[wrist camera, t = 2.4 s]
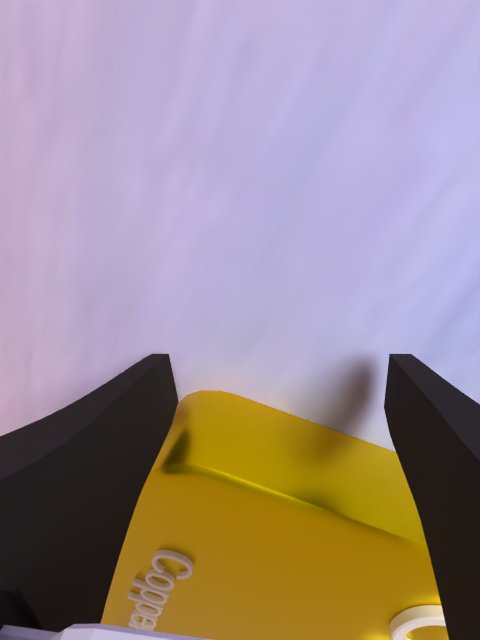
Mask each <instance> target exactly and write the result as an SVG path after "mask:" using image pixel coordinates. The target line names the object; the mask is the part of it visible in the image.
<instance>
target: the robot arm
mask: <svg viewBox="0 0 480 640" xmlns="http://www.w3.org/2000/svg"><path fill="white" fill-rule="evenodd" d="M177 405H178V398H177V393H176V388H175V383H174V378H173V373H172V368H171V363H170V358H169V354H151V355H149V356H147V357H146V358H144V359H142V360H141V361H139V362H137V363H136V364H134V365H133V366H131V367H130V368H128V369H127V370H125V371H124V372H122V373H121V374H119V375H118V376H116V377H115V378H113V379H112V380H110V381H109V382H107V383H106V384H104V385H102V386H101V387H99V388H97V389H96V390H94V391H92V392H91V393H89V394H87V395H86V396H84V397H83V398H81V399H79V400H77V401H76V402H74V403H72V404H70V405H68V406H67V407H65V408H63V409H61V410H59V411H57V412H55V413H53V414H51V415H49V416H47V417H45V418H43V419H40V420H38V421H36V422H33V423H31V424H29V425H26V426H24V427H22V428H20V429H17V430H15V431H13V432H10V433H8V434H5V435H3V436H0V640H212V639H205V638H198V637H191V636H184V635H177V634H170V633H163V632H156V631H149V630H142V629H135V628H128V627H120V626H113V625H106V624H100V623H101V619H102V616H103V612H104V608H105V604H106V600H107V597H108V593H109V590H110V586H111V583H112V580H113V576H114V573H115V569H116V566H117V562H118V559H119V556H120V553H121V550H122V546H123V543H124V540H125V537H126V534H127V531H128V528H129V525H130V522H131V519H132V516H133V513H134V510H135V507H136V504H137V502H138V499H139V496H140V494H141V491H142V489H143V487H144V484H145V482H146V480H147V478H148V476H149V474H150V471H151V469H152V467H153V465H154V463H155V461H156V459H157V456H158V454H159V452H160V450H161V448H162V446H163V443H164V441H165V439H166V437H167V435H168V432H169V430H170V428H171V425H172V422H173V419H174V416H175V412H176V408H177ZM384 409H385V414H386V418H387V423H388V428H389V432H390V436H391V439H392V442H393V444H394V447H395V450H396V453H397V456H398V458H399V461H400V464H401V466H402V469H403V472H404V474H405V477H406V480H407V483H408V485H409V488H410V491H411V493H412V496H413V499H414V502H415V504H416V508H417V511H418V514H419V517H420V520H421V524H422V528H423V532H424V536H425V540H426V544H427V547H428V551H429V555H430V559H431V563H432V568H433V572H434V576H435V580H436V584H437V588H438V593H439V597H440V601H441V606H442V610H443V615H444V619H445V624H446V628H447V633H448V637H449V640H480V404H478V403H477V402H475V401H474V400H472V399H471V398H469V397H468V396H466V395H465V394H464V393H462V392H461V391H459V390H458V389H457V388H455V387H454V386H453V385H451V384H450V383H448V382H447V381H446V380H444V379H443V378H442V377H441V376H439V375H438V374H437V373H435V372H434V371H433V370H431V369H430V368H429V367H428V366H426V365H425V364H424V363H422V362H421V361H420V360H418V359H417V358H416V357H414V356H413V355H411V354H390V356H389V365H388V375H387V384H386V393H385V403H384Z"/></svg>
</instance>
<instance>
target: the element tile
mask: <svg viewBox="0 0 480 640" xmlns="http://www.w3.org/2000/svg"><path fill="white" fill-rule="evenodd" d="M100 624H106V625H113V626H120V627H128V628H135V629H142V630H149V631H156V632H163V633H170V634H177V635H184V636H191V637H198V638H205V639H212V640H449V637H448V633H447V628H446V624H445V619H444V615H443V610H442V606H441V601H440V597H439V593H438V588H437V584H436V580H435V576H434V572H433V568H432V563H431V559H430V555H429V551H428V547H427V544H426V540H425V536H424V532H423V528H422V524H421V520H420V517H419V514H418V511H417V508H416V504H415V502H414V499H413V496H412V493H411V491H410V488H409V485H408V483H407V480H406V477H405V474H404V472H403V469H402V466H401V464H400V461H399V458H398V456H397V453H396V452H394V451H391V450H388V449H386V448H383V447H380V446H377V445H375V444H372V443H369V442H366V441H363V440H361V439H358V438H355V437H352V436H350V435H347V434H344V433H341V432H338V431H336V430H333V429H330V428H327V427H325V426H322V425H319V424H316V423H313V422H311V421H308V420H305V419H302V418H300V417H297V416H294V415H291V414H288V413H286V412H283V411H280V410H277V409H275V408H272V407H269V406H266V405H263V404H261V403H258V402H255V401H252V400H250V399H247V398H244V397H241V396H238V395H236V394H232V393H227V392H223V391H204V390H201V391H198V392H195V393H192V394H189V395H187V396H185V397H184V398H183V399H182V400H181V401H180V402H179V403H178V405H177V408H176V412H175V416H174V419H173V422H172V425H171V428H170V430H169V432H168V435H167V437H166V439H165V441H164V443H163V446H162V448H161V450H160V452H159V454H158V456H157V459H156V461H155V463H154V465H153V467H152V469H151V471H150V474H149V476H148V478H147V480H146V482H145V484H144V487H143V489H142V491H141V494H140V496H139V499H138V502H137V504H136V507H135V510H134V513H133V516H132V519H131V522H130V525H129V528H128V531H127V534H126V537H125V540H124V543H123V546H122V550H121V553H120V556H119V559H118V562H117V566H116V569H115V573H114V576H113V580H112V583H111V586H110V590H109V593H108V597H107V600H106V604H105V608H104V612H103V616H102V619H101V623H100Z"/></svg>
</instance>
